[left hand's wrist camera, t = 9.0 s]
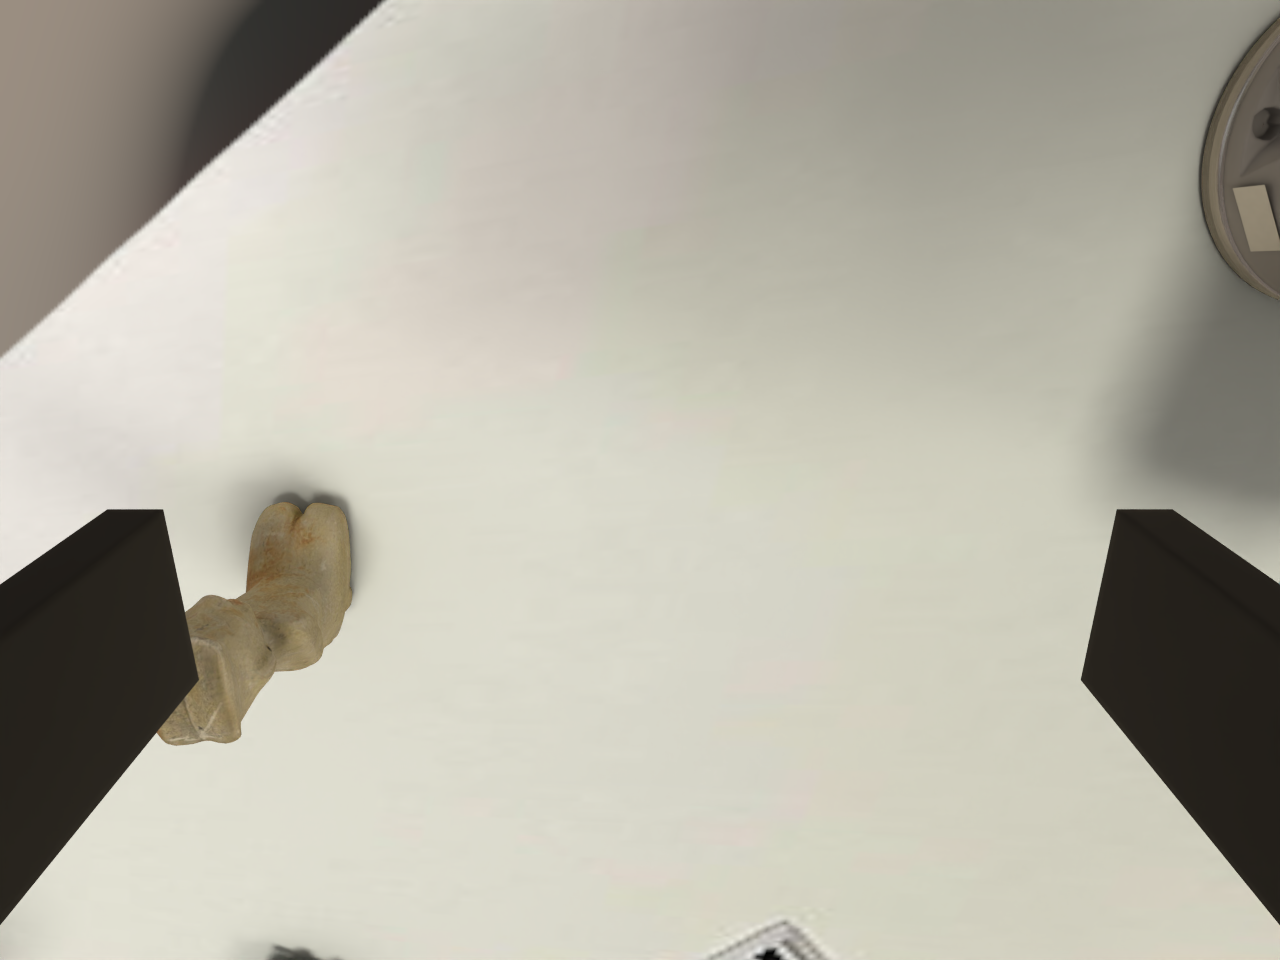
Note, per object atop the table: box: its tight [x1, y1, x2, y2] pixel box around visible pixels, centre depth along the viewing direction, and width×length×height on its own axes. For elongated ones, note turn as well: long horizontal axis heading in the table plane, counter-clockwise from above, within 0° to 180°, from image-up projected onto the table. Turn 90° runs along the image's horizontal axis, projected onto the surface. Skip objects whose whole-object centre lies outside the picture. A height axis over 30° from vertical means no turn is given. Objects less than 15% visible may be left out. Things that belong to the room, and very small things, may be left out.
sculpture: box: [157, 502, 352, 746], centre depth 42 cm, size 6×7×15 cm
